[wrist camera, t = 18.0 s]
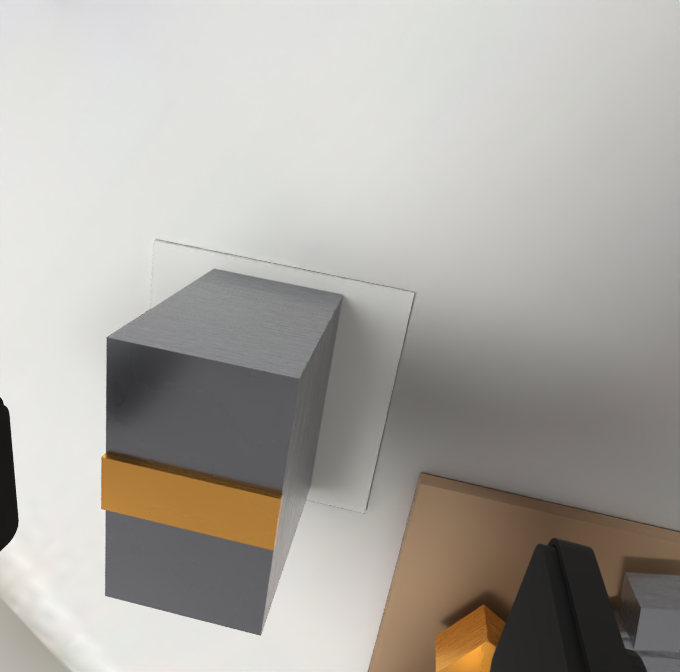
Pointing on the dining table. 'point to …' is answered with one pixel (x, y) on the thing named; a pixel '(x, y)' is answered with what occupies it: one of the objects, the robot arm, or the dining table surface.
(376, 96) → the dining table surface
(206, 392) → the grey rectangular block
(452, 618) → the board
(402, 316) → the pad
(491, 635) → the sprocket
